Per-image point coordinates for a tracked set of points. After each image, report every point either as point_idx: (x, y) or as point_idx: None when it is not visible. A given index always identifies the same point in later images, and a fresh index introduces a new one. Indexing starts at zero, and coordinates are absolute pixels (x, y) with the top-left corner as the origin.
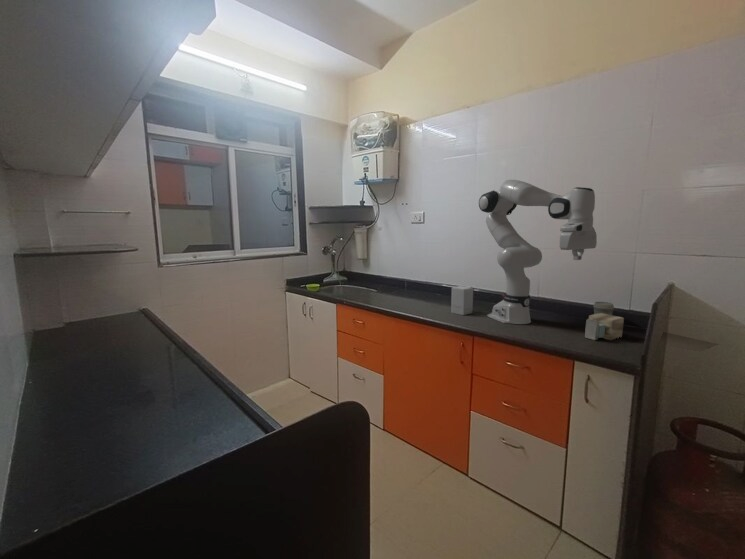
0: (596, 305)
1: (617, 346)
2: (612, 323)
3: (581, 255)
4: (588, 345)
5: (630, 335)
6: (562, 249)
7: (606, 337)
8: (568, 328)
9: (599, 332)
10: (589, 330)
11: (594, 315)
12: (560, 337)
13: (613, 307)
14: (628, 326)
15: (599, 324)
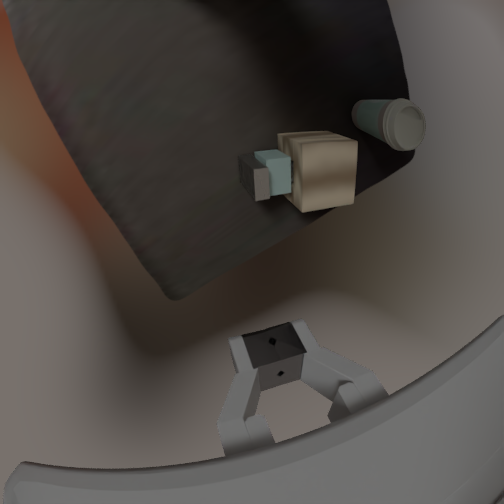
0: (390, 116)
1: (249, 226)
2: (299, 208)
3: (309, 379)
4: (191, 202)
5: None
6: (32, 468)
7: None
8: (280, 76)
9: None
10: (245, 172)
11: (314, 153)
12: (177, 128)
13: (405, 150)
14: None
15: (278, 185)
